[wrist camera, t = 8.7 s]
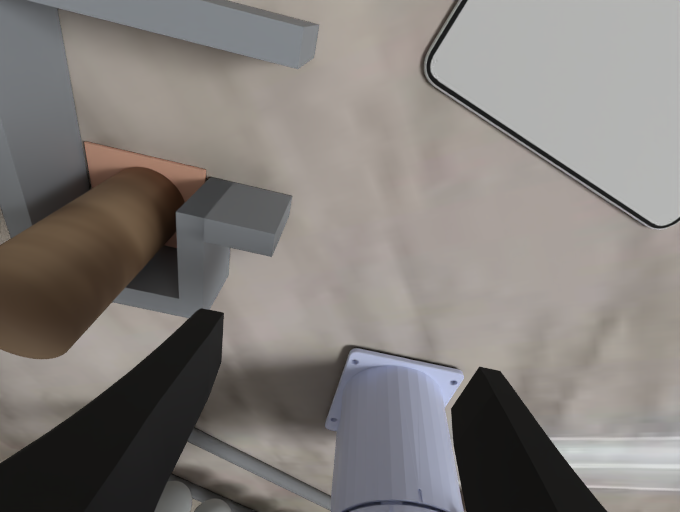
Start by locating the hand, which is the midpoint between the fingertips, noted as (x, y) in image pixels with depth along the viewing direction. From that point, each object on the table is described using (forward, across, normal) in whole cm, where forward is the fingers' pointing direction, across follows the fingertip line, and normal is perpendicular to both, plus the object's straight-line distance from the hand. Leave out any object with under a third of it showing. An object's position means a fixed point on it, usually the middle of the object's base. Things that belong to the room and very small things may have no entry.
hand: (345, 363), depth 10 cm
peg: (+10, +11, +3) cm, 15 cm away
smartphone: (+11, -9, -8) cm, 16 cm away
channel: (+10, +9, 0) cm, 14 cm away
